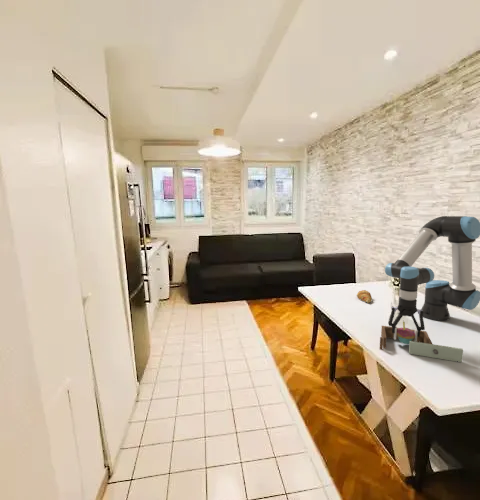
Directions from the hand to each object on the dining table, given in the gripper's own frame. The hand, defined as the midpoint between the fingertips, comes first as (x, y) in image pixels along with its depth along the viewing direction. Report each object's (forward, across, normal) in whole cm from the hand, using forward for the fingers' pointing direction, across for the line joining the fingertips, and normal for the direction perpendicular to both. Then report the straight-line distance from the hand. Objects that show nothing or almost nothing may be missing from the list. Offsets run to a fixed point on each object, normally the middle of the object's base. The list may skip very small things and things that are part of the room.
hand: (404, 340), depth 136 cm
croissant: (+3, +18, -67) cm, 70 cm away
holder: (+3, +1, +1) cm, 3 cm away
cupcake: (+1, 0, 0) cm, 1 cm away
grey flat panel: (+2, -11, +9) cm, 14 cm away
